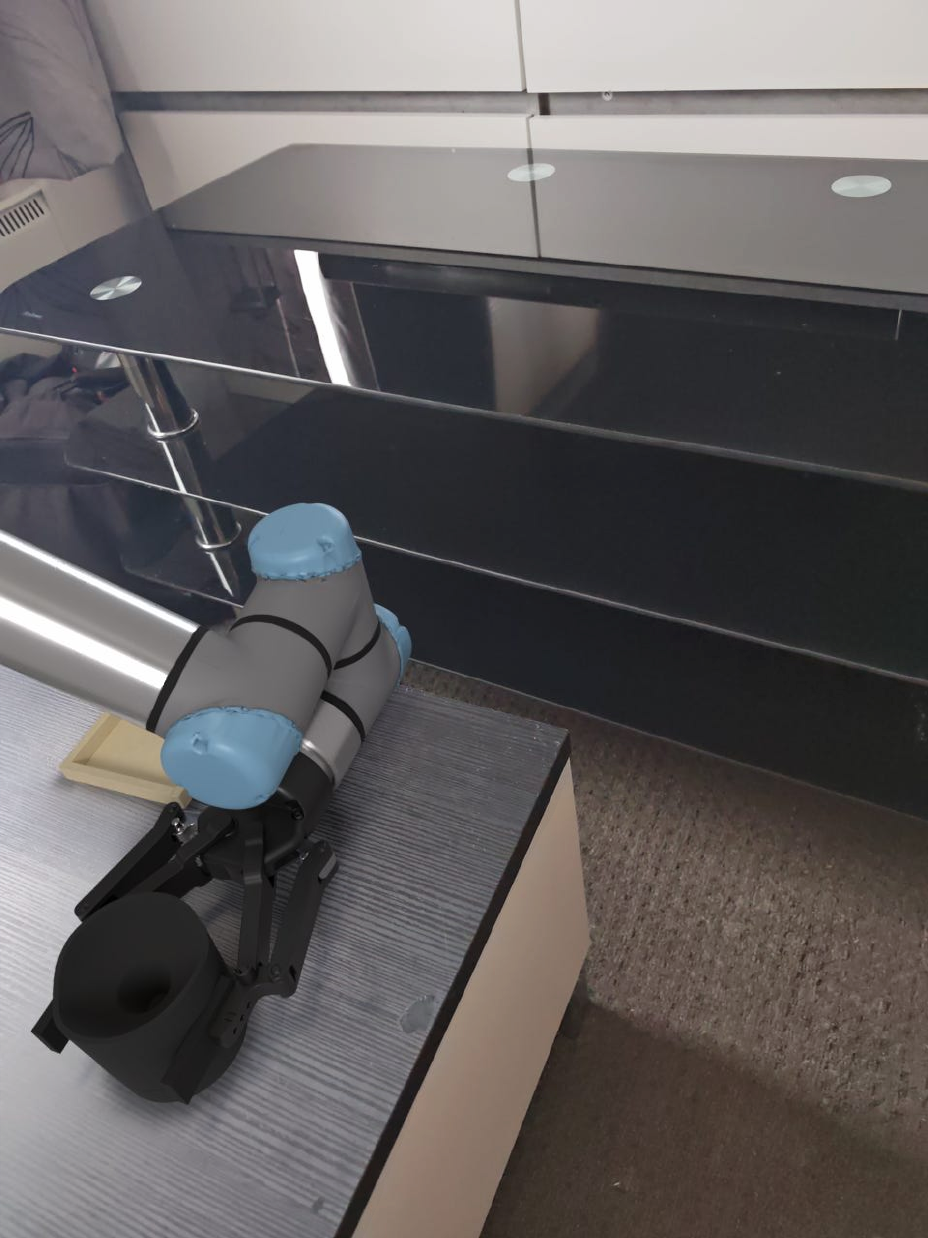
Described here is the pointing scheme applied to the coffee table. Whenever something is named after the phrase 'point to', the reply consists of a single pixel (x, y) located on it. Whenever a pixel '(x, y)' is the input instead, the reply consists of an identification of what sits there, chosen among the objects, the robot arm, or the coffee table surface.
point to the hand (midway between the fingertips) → (107, 1067)
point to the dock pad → (123, 762)
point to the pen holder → (139, 989)
